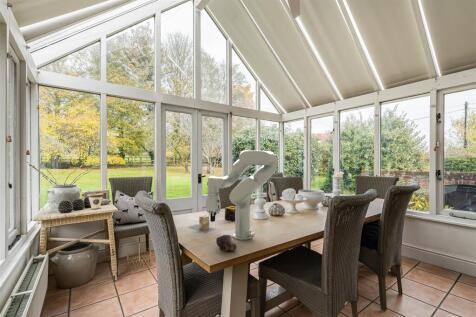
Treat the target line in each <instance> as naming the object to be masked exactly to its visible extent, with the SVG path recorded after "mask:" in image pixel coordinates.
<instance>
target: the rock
mask: <svg viewBox="0 0 476 317" xmlns="http://www.w3.org/2000/svg"><path fill="white" fill-rule="evenodd" d="M232 238H233V237H232V235H230V234H223V235H220V236H218V237H216V239H215V242H216V245H217V247H218V248H219V250H221V251H222V252H228V251H231V252H233V251H235V250H236V249H237V244H236V243H234V242H233V239H232Z"/></svg>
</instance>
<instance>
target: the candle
mask: <svg viewBox="0 0 476 317" xmlns="http://www.w3.org/2000/svg"><path fill="white" fill-rule="evenodd" d="M235 207H236V205H235V206H234V205H230V206H226V207H224V220H225V221H230V222H235Z"/></svg>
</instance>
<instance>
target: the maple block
mask: <svg viewBox="0 0 476 317" xmlns="http://www.w3.org/2000/svg"><path fill="white" fill-rule="evenodd" d="M198 221H199V222H198V225H199V229H200V230H204V231H205V230H207V229H209V227H210V215H204V214H203V215H200V216H199V217H198Z"/></svg>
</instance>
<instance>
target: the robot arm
mask: <svg viewBox="0 0 476 317" xmlns="http://www.w3.org/2000/svg"><path fill="white" fill-rule="evenodd" d="M278 163H279V162H278V158H277V156H276V154H275V153H274V152H272V151H267V150H249V149H247V150H246V149H245V150H242V151H241V152H240V153H239V155H238V159H237V160H236V161H234V163H233V164H232V170H231V171H230V172H229V173H228V174H227V175H225V176H209V177H207V195H206V196H207V197H206V200H205V201H206V202H205V210H206V212H207V213H208V214H209V222H212V223H213V222H216V216H217V215H218V214H220V211H221V210H222V209H221V208H222V206H221V199H220V198H221V197H220V196H221V195H220V193H219V192H220V191H219V190H220V189H225V188H229V187H231V186H232V185H234V184H235V183H236V182H237V181H238V180H239V179H240V178H241V176H242V175H243V174H244V173H245V172H246V171H247V170H248V169H249V168H250V167H251V166H261V167H259V168H258V169H257V170H256V171H255V172H254V173H253V174H252V175H251V176H248V177H244V178H243V179H242V180H241V181H240V182H239V183H238V184H237V185H236V186H235V187H234V188H233V189H232V190H231V191H230V193H229V195H228V196H229V201H230V203H231V204H233V205H235V206H236V207H235V221H234V226H235V227H234V232H233V234H232V238H233V239H235V240H238V241H239V240H240V241H244V240H245V241H247V240H250V239H252V238H255V235H256V234H255V232H252V229H251V203H252V202H251V201H252V193H255V192H257V191H258V190H259V189H260V188H262V186H263V185H265V183H266V182H267V181H268V180H269V179H270V178H271V177H272V176H273V175H274V174H275V172H276V171H277V168H278Z"/></svg>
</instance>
